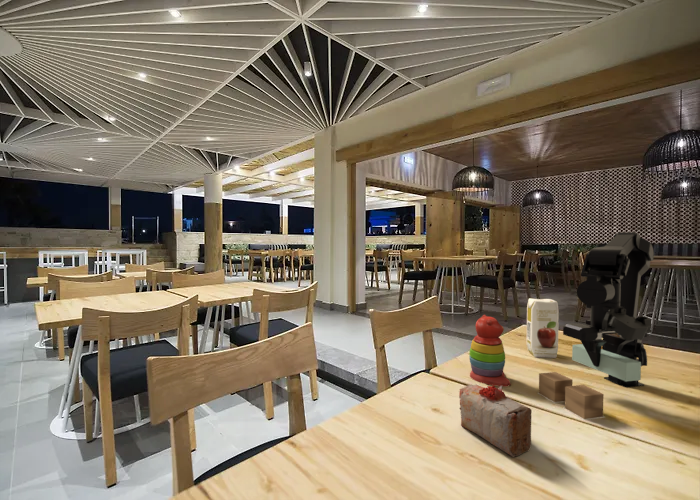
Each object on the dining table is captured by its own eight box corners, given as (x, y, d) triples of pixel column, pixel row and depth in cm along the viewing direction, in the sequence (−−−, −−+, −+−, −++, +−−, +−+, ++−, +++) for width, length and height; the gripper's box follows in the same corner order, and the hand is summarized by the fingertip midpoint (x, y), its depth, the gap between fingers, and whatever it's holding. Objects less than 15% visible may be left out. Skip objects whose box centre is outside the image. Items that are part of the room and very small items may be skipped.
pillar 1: (555, 391, 88) (555, 371, 88) (572, 400, 83) (572, 379, 83) (538, 393, 87) (539, 373, 87) (554, 402, 82) (554, 381, 82)
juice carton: (524, 350, 122) (525, 297, 122) (550, 351, 121) (551, 298, 121) (532, 357, 115) (533, 301, 114) (560, 359, 114) (561, 301, 113)
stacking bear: (512, 389, 90) (513, 321, 90) (472, 385, 92) (472, 319, 92) (502, 373, 101) (503, 313, 100) (466, 371, 103) (467, 311, 103)
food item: (452, 425, 73) (453, 378, 72) (479, 416, 76) (479, 372, 76) (510, 461, 61) (511, 406, 60) (537, 448, 64) (538, 396, 64)
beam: (572, 360, 89) (572, 344, 89) (584, 359, 90) (585, 343, 90) (626, 381, 76) (626, 363, 75) (640, 380, 76) (640, 362, 76)
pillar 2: (582, 405, 80) (583, 384, 80) (603, 416, 75) (603, 394, 75) (564, 408, 79) (565, 386, 79) (584, 419, 74) (584, 396, 74)
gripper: (605, 309, 73) (603, 382, 73) (673, 306, 77) (671, 375, 77) (561, 300, 83) (560, 364, 84) (623, 298, 88) (622, 358, 88)
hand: (603, 365), depth 83 cm, fingers closed on beam, 4 cm apart
